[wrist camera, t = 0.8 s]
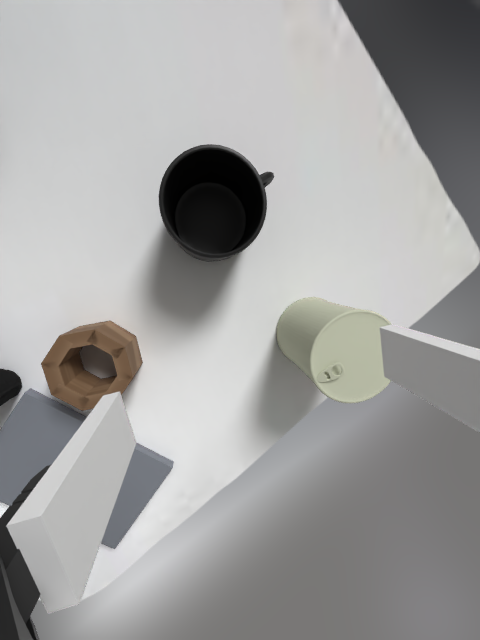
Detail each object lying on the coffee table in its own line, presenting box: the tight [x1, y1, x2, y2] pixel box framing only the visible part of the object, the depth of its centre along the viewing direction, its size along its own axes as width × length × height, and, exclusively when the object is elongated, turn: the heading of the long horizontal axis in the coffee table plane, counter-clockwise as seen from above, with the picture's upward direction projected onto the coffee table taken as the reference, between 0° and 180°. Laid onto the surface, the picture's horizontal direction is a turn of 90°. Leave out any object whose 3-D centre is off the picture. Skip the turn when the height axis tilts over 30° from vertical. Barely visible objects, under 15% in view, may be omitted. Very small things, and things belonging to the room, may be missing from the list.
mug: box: [159, 145, 274, 261], centre depth 29 cm, size 9×12×9 cm
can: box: [276, 297, 391, 403], centre depth 31 cm, size 9×9×12 cm
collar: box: [41, 321, 143, 411], centre depth 32 cm, size 8×8×5 cm
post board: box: [0, 389, 173, 549], centre depth 31 cm, size 20×14×11 cm
